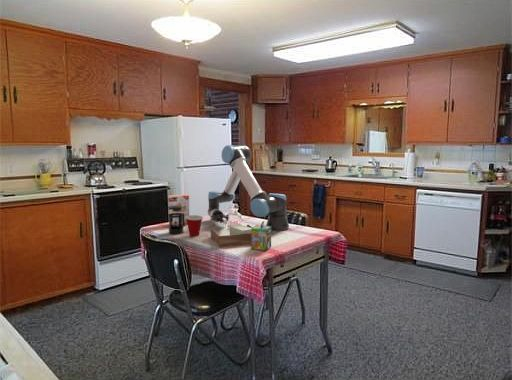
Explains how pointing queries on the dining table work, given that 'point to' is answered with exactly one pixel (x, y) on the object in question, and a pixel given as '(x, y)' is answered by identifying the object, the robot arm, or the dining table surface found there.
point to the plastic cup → (194, 224)
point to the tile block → (239, 229)
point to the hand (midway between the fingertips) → (225, 221)
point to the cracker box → (180, 201)
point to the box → (231, 238)
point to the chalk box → (261, 237)
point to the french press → (175, 229)
